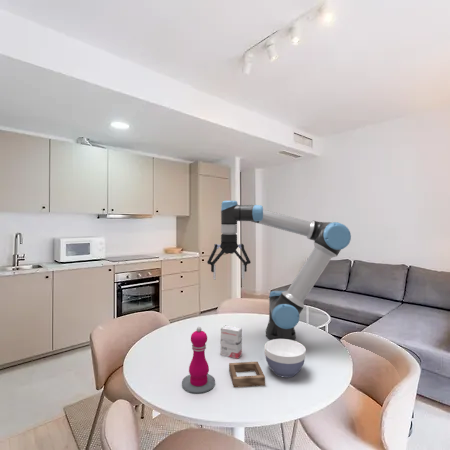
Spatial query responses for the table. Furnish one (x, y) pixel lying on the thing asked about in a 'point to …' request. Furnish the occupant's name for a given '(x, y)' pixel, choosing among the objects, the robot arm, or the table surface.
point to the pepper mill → (198, 359)
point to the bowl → (285, 356)
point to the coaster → (198, 389)
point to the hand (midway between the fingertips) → (228, 278)
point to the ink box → (231, 341)
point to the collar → (246, 380)
